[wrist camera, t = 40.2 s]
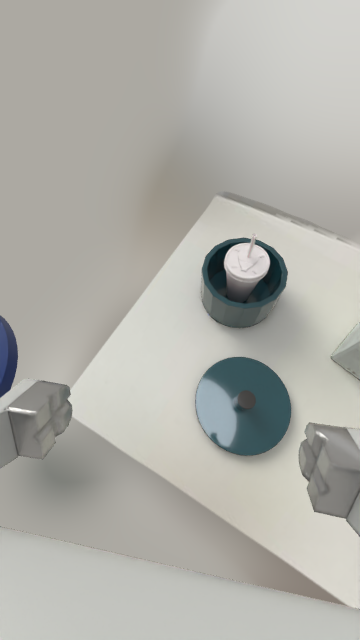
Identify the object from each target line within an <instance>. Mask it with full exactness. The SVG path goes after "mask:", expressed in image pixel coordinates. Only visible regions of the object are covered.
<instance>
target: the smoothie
mask: <svg viewBox="0 0 360 640" xmlns="http://www.w3.org/2000/svg"><path fill="white" fill-rule="evenodd" d="M256 237H257V235H256V234H253V235H252V239H251V242H250V243H241V244H237V245H235V246H233V247H232V248H231V249H229V251H228V252H227V254H226V256H225V260H224V267H225V270H226V276H227V297H228V298H229V300H230V301H235V302H239V303H243V302H244V301H246V300H247V298H248V297H249V295H250V294H251V292H252V291H253V289H254V288H255V286H256V285H257V283H258V282H259V280H260V279H262V278H263V277H264V276H265V275H266V274H267V272H268V269H269V266H270V259H269V256H268V254H267V252H266V251H265V250H264V249H263V248H261V247H260V246H258V245H255V241H256Z"/></svg>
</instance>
